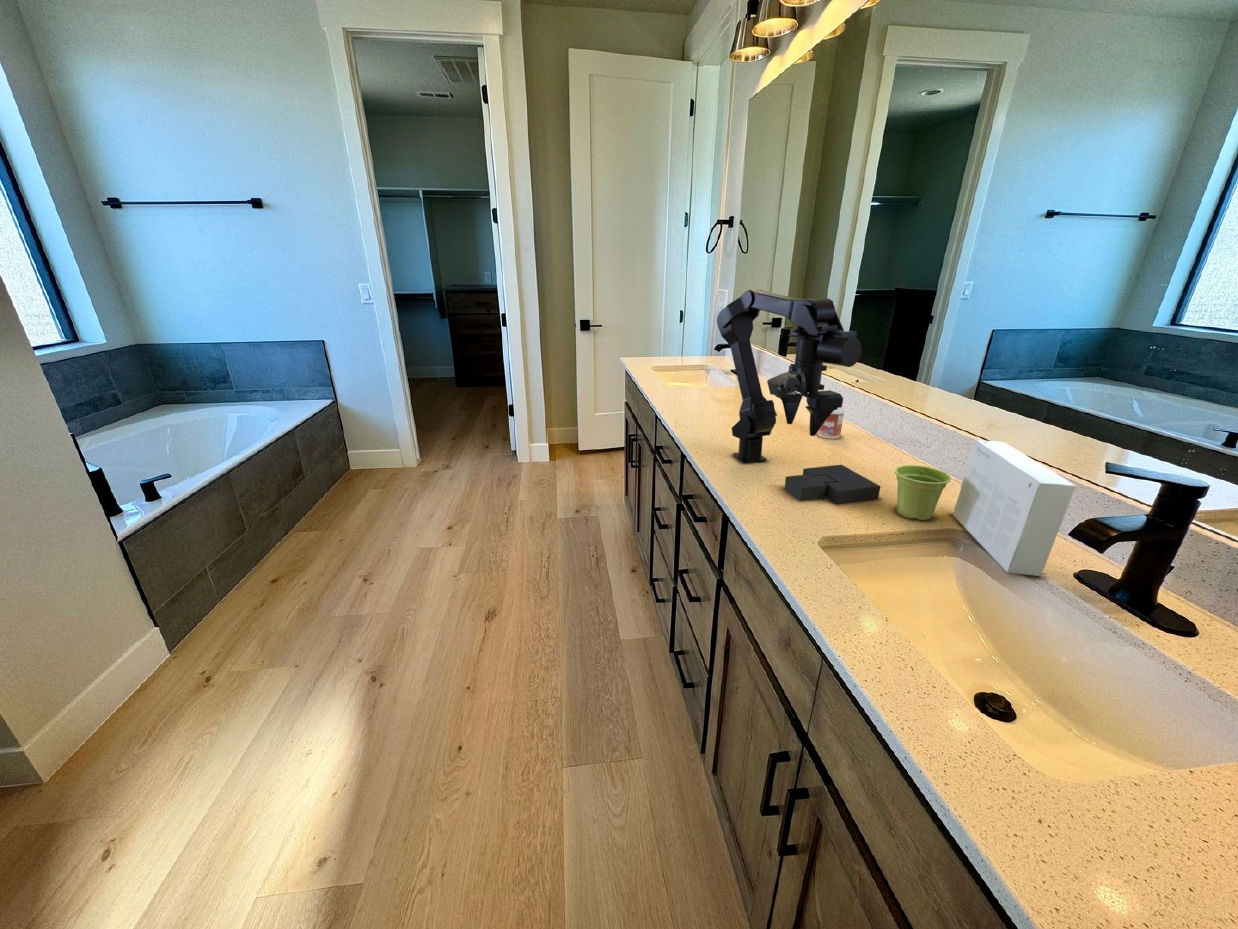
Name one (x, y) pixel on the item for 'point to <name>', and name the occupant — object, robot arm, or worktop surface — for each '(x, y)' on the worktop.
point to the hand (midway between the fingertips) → (800, 429)
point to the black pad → (807, 486)
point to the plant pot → (919, 490)
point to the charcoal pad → (845, 484)
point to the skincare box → (1012, 506)
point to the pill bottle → (832, 425)
